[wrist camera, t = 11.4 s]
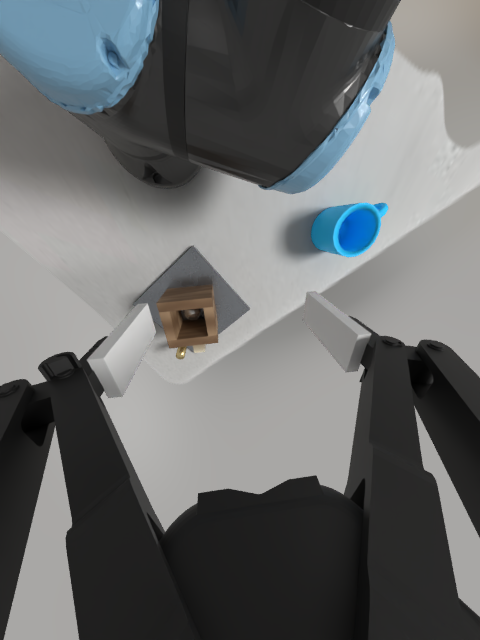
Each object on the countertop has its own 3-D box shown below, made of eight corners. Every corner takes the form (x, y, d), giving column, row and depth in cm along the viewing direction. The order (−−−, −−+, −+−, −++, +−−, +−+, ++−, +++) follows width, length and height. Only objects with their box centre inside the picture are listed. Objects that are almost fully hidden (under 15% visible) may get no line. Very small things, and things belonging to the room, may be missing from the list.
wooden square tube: (166, 288, 39) (156, 303, 32) (212, 284, 40) (211, 297, 33) (181, 344, 46) (174, 367, 38) (220, 340, 46) (220, 361, 39)
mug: (318, 258, 41) (340, 266, 33) (305, 222, 37) (326, 221, 30) (371, 226, 39) (406, 227, 32) (362, 185, 35) (400, 175, 28)
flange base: (134, 303, 40) (125, 311, 36) (193, 245, 36) (190, 248, 33) (195, 351, 48) (193, 362, 44) (249, 307, 44) (252, 315, 40)
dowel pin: (178, 340, 45) (174, 355, 40) (184, 335, 45) (179, 351, 39) (184, 344, 46) (180, 360, 40) (189, 340, 45) (186, 355, 40)
